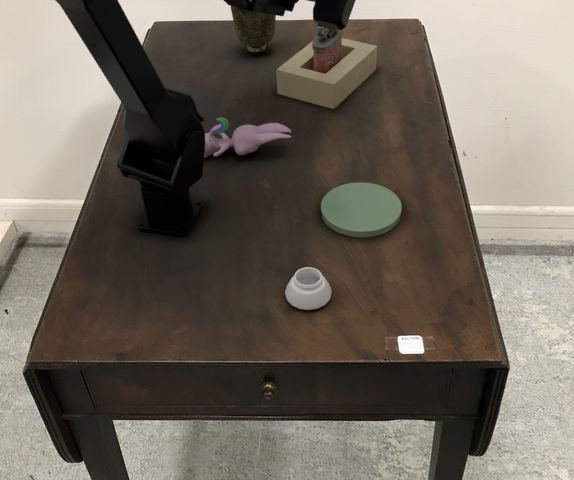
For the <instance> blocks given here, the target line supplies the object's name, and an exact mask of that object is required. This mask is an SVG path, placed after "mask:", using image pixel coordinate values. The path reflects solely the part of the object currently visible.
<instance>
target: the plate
mask: <svg viewBox="0 0 574 480" xmlns="http://www.w3.org/2000/svg"><path fill="white" fill-rule="evenodd" d="M402 205H403V204H402V202H401V199H400V197H398V195H397V194H396V193H395V192H394V191H392V190H391V189H389V188H387V187H385V186H383V185H380V184H377V183H373V182H365V181H364V182H362V181H361V182H358V181H357V182H347V183H344V184H341V185H338V186H336V187H333V188H332V189H330V190H329V191H328V192H327V193H326V194H325V195H324V196H323V198H322V199H321V202H320V216H321V219H322V221H323V222H324V224H325V225H326V226H327V227H328V228H329V229H331V230H332V231H333V232H335V233H338V234H340V235H343V236H347V237H351V238H371V237H372V238H373V237H378V236H381V235H384V234H386V233H388V232H390V231H391V230H393V229H394V228H395V227H396V226H397V225H398V224H399V222H400V220H401V218H402V209H403V206H402Z"/></svg>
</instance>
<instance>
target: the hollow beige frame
mask: <svg viewBox="0 0 574 480" xmlns="http://www.w3.org/2000/svg"><path fill="white" fill-rule="evenodd" d="M312 42H313V40H312V41H310V42H309V43H308V44H307V45H303V46H302V47H301V48H300V50H299V51H298V52H297V53H295V54H294V55H293V56H292V57H290V58H289V59H288V60H286V61H285V62H284V63H282V64H281V65H280V66H279V67H278V68H276V71H275V72H276V73H275V74H276V87H277V88H276V89H277V90H276V91H277V95H280V96H283V97H288V98H291V99H296V100H299V101H302V102H305V103H308V104H313V105H317V106H319V107H324V108H328V109H330V110H335V109H336V108H337V107H338V106H339V105H340V104H341V103H342V102H344V100H345V99H347V97H349V96H350V95H351V94H352V93H353V92H354V91H355V90H356V89H357V88H359V86H360V85H362V84H363V83H364V82H365V81H366V80H367V79H368V78H369V77H370V76H371V75H372V74H373V73H374V72H376V70H377V55H378V46H377V45H375V44H370V43H365V42H362V41H357V40H353V39H349V38H343V37H342V48H341V61H340V62H339V63H337V64H336V65H335V66H334V67H333V68H332V69H331V70H329V71H328V72H327V73H326V74H324V73H320V72H316V71H314V50H313V49H312Z"/></svg>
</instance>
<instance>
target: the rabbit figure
mask: <svg viewBox="0 0 574 480" xmlns="http://www.w3.org/2000/svg"><path fill="white" fill-rule="evenodd" d="M215 121H217V122H219V123H217V124H216V125H215V126H213V127H212V128H211V129H210V131H209V132H207V133H206V132H205V153H204V159H206V158H209V157H210V156H212V155H213V157H215V158H216V157H218V156H220V155H221V154H223V153H224V152H226V151H227V150H229V149H230V148H234V151H235V154H236V155H238V156H245V155H247V154H250V153H253V152H255V151H257V150H258V149H259V148H260V146H261V145H264V144H266V143H269V142H271V141H274V140H278V139H291V138H292V136H291V135H289V134H286V133H292V130H291V129H290V128H289V127H288V126H286V125H284V124H282V123H279V122H269V123H264V124H261V125H258V126H257V125H254V124H243V125H240V126H238V127H237V128H235V130H233V132H232V135H231V138H229V136H228V135H227V134H226V133H225V132H226V131H227V130H228V129H229V127H230V126H229V125H230V124H229V120H228V119H227V118H225V117H222V116H221V117H217V118H215ZM215 134H217V135H219V136H221V137H222V138H219V137H217V136H215Z"/></svg>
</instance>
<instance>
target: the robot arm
mask: <svg viewBox="0 0 574 480" xmlns="http://www.w3.org/2000/svg"><path fill="white" fill-rule="evenodd" d="M54 1H55V2H56V3H57V4H58V5H59V6H60V8H61V10H62V11H63V12H64V14H65V16H66V17H67V18H68V20H69V22H70V24H71V25H72V27H73V28H74V30H75V31H76V33H77V34H78V36H79V38H80V39H81V41H82V42H83V44H84V46H85V47H86V49H87V50H88V52H89V54H90V55H91V56H92V58H93V60H94V62H95V63H96V64H97V66H98V68H99V69H100V71H101V72H102V74H103V75H104V77H105V79H106V81H107V82H108V83H109V85H110V87H111V89H112V90H113V91H114V93H115V95H116V97H117V98H118V99H119V102H120V103H121V104H122V106H123V107H124V109H125V110H124V117H123V121H122V123H123V124H122V125H123V129H124V131H125V133H126V139H125V142H124V144H123V147H122V151H121V153H120V156H119V158H118V162H117V166H116V167H117V169H118V170H119V172H120V173H121V174H122V176H123V177H124V178H129V179H132V180H135V181H138V183H139V187H140V194H141V198H142V202H143V207H144V212H145V213H144V214H143V216H142V218H141V219H140V221H139V222H138V224H137V229H138V231H140V232H147V233H155V234H162V235H170V236H176V237H187V236H188V235H189V233H190V231H191V230H192V228H193V226H194V224H195V222H196V220H197V219H198V217H199V215H200V214H201V212H202V210H203V207H204V204H203V202H201V201H195V200H192V196H191V190H190V188H191V187H192V186H194V185H195V184H196V183H197V182H199V181H200V180H201V179H202V178H203V172H204V161H205V158H204V153H205V133H206V132H205V129H204V126H203V124H202V123H203V122H204V121H205V118H204V117H203V116H202V115H201V114H200V113H199V111H198V108H197V106H196V102H195V100H194V99H193V97H192V96H191V94H187V93H184V92H181V91H178V90H175V89H172V88H171V89H170V88H167V87H165V85H164V83H163V82H162V80H161V78H160V76H159V74H158V72H157V70H156V69H155V67H154V65H153V63H152V60H151V59H150V57H149V55H148V53H147V51H146V50H145V48H144V46H143V44H142V43H141V40H140V39H139V37H138V35H137V33H136V31H135V30H134V28H133V25H132V24H131V22H130V20H129V19H128V16H127V15H126V13H125V11H124V9H123V7H122V5H121V3H120V1H119V0H54ZM299 1H300V0H223V2H225V3H226V5H227V6H230V7H231V6H234V7H238V8H240V9H244V10H248V11H253V12H259V13H265V14H271V15H276V17H277V16H278V17H285V14H286V11H287V12H291V13H293V11H294V8H295V5H296V4H297V3H298V2H299ZM306 1H308V2H311V3H312V2H313V3H314V5H313V8H312V20H313V21H314V22H315V24H317V27H324V28H328V29H333V30H342V29H343V30H344V29H345V28H347V25H348V22H349V20H350V17H351V14H352V12H353V9H354V6H355V3H356V0H306Z"/></svg>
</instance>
